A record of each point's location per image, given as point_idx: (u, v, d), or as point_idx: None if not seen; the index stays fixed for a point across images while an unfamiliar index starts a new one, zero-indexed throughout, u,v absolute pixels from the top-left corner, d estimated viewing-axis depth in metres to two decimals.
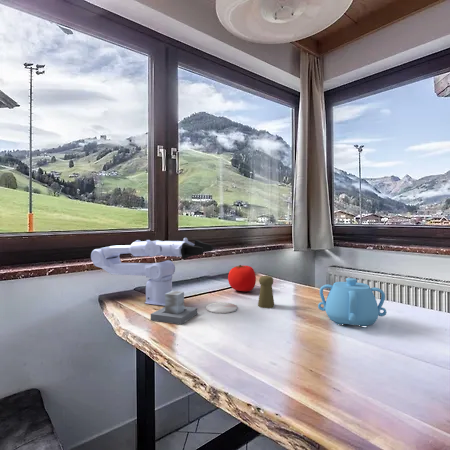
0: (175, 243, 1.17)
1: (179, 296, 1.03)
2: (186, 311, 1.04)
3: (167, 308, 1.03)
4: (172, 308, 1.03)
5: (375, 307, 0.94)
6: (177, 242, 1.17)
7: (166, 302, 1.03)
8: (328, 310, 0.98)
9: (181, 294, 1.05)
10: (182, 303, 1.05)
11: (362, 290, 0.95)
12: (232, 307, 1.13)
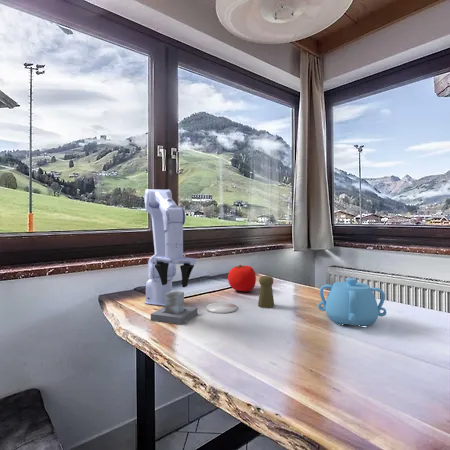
0: (165, 249, 1.03)
1: (179, 296, 1.03)
2: (186, 311, 1.04)
3: (167, 308, 1.03)
4: (172, 308, 1.03)
5: (375, 307, 0.94)
6: (166, 251, 1.02)
7: (166, 302, 1.03)
8: (328, 310, 0.98)
9: (181, 294, 1.04)
10: (182, 303, 1.05)
11: (362, 290, 0.95)
12: (232, 307, 1.13)
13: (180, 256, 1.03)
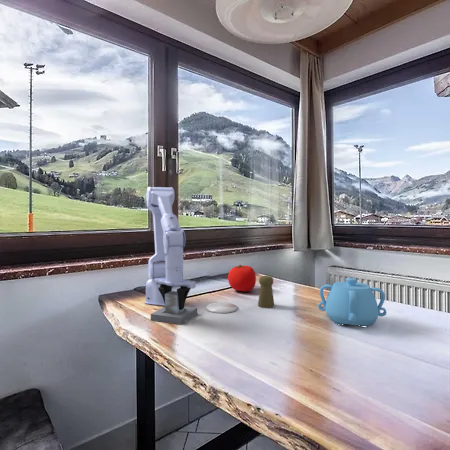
0: (166, 272, 1.03)
1: None
2: (186, 311, 1.04)
3: (167, 308, 1.03)
4: (172, 307, 1.03)
5: (375, 307, 0.94)
6: (167, 274, 1.03)
7: (166, 302, 1.03)
8: (328, 310, 0.98)
9: None
10: None
11: (362, 290, 0.95)
12: (232, 307, 1.13)
13: (180, 279, 1.03)
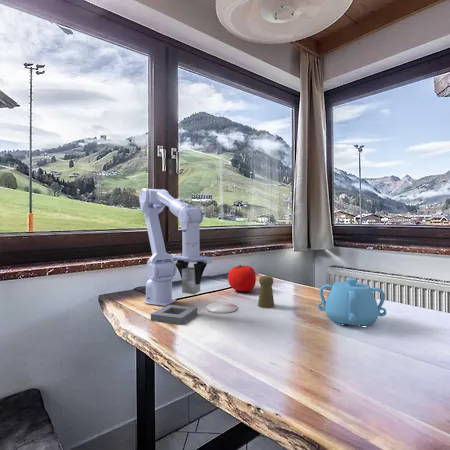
0: (183, 248, 1.06)
1: None
2: (186, 311, 1.04)
3: (184, 283, 1.06)
4: (189, 282, 1.05)
5: (375, 307, 0.94)
6: (184, 249, 1.05)
7: (183, 277, 1.06)
8: (328, 310, 0.98)
9: None
10: None
11: (362, 290, 0.95)
12: (232, 307, 1.13)
13: (197, 255, 1.06)
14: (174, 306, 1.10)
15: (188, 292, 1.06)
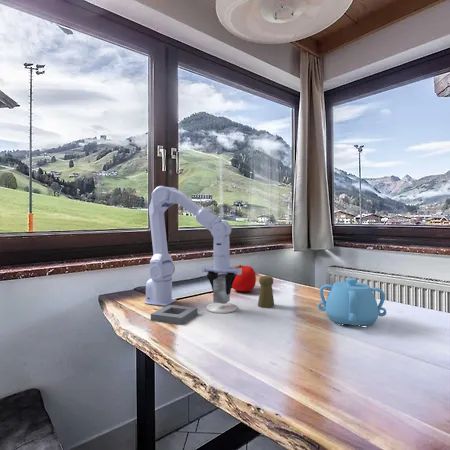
0: (214, 260, 1.12)
1: None
2: (186, 311, 1.04)
3: (215, 293, 1.12)
4: (220, 292, 1.11)
5: (375, 307, 0.94)
6: (215, 261, 1.12)
7: (214, 287, 1.12)
8: (328, 310, 0.98)
9: None
10: None
11: (362, 290, 0.95)
12: (232, 307, 1.13)
13: (228, 266, 1.12)
14: (174, 306, 1.10)
15: (219, 302, 1.12)
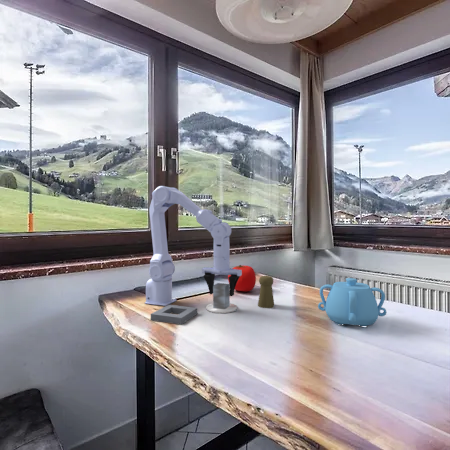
0: (214, 261, 1.12)
1: (226, 288, 1.12)
2: (186, 311, 1.04)
3: (215, 298, 1.12)
4: (220, 298, 1.12)
5: (375, 307, 0.94)
6: (215, 263, 1.12)
7: (214, 293, 1.12)
8: (328, 310, 0.98)
9: (227, 286, 1.13)
10: (228, 294, 1.14)
11: (362, 290, 0.95)
12: (232, 307, 1.13)
13: (227, 268, 1.12)
14: (174, 306, 1.10)
15: (219, 307, 1.12)
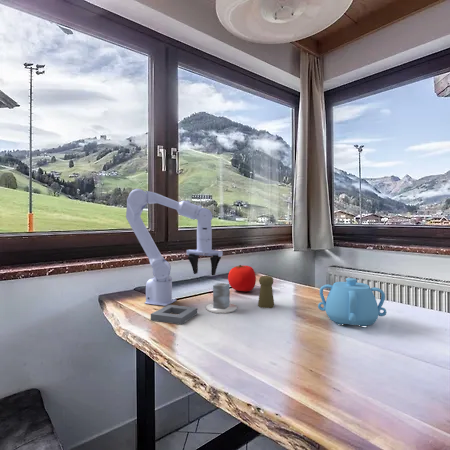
0: (197, 243, 1.22)
1: (226, 288, 1.12)
2: (186, 311, 1.04)
3: (215, 298, 1.12)
4: (220, 298, 1.12)
5: (375, 307, 0.94)
6: (198, 245, 1.22)
7: (214, 293, 1.12)
8: (328, 310, 0.98)
9: (227, 286, 1.13)
10: (228, 294, 1.14)
11: (362, 290, 0.95)
12: (232, 307, 1.13)
13: (210, 249, 1.22)
14: (174, 306, 1.10)
15: (219, 307, 1.12)
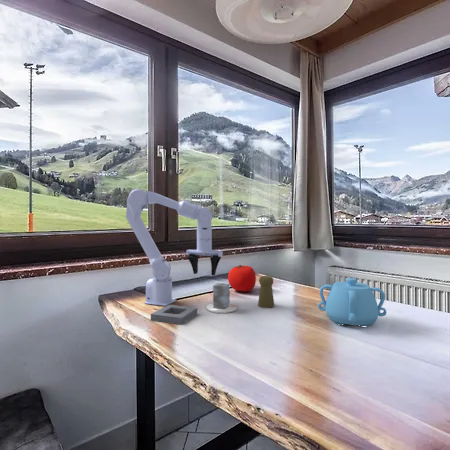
0: (197, 243, 1.22)
1: (226, 288, 1.12)
2: (186, 311, 1.04)
3: (215, 298, 1.12)
4: (220, 298, 1.12)
5: (375, 307, 0.94)
6: (198, 245, 1.22)
7: (214, 293, 1.12)
8: (328, 310, 0.98)
9: (227, 286, 1.13)
10: (228, 294, 1.14)
11: (362, 290, 0.95)
12: (232, 307, 1.13)
13: (210, 249, 1.22)
14: (174, 306, 1.10)
15: (219, 307, 1.12)
